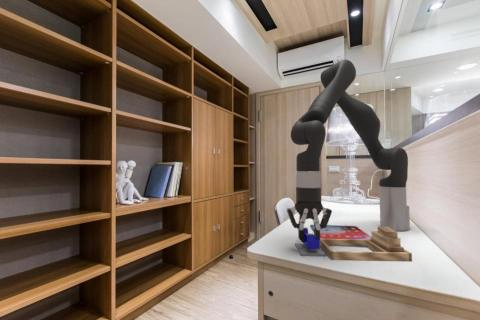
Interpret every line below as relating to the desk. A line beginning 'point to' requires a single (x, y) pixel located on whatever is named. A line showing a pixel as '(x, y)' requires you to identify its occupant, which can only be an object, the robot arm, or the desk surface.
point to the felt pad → (309, 250)
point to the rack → (346, 255)
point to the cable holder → (310, 240)
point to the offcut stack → (387, 239)
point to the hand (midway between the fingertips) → (309, 241)
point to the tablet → (342, 233)
